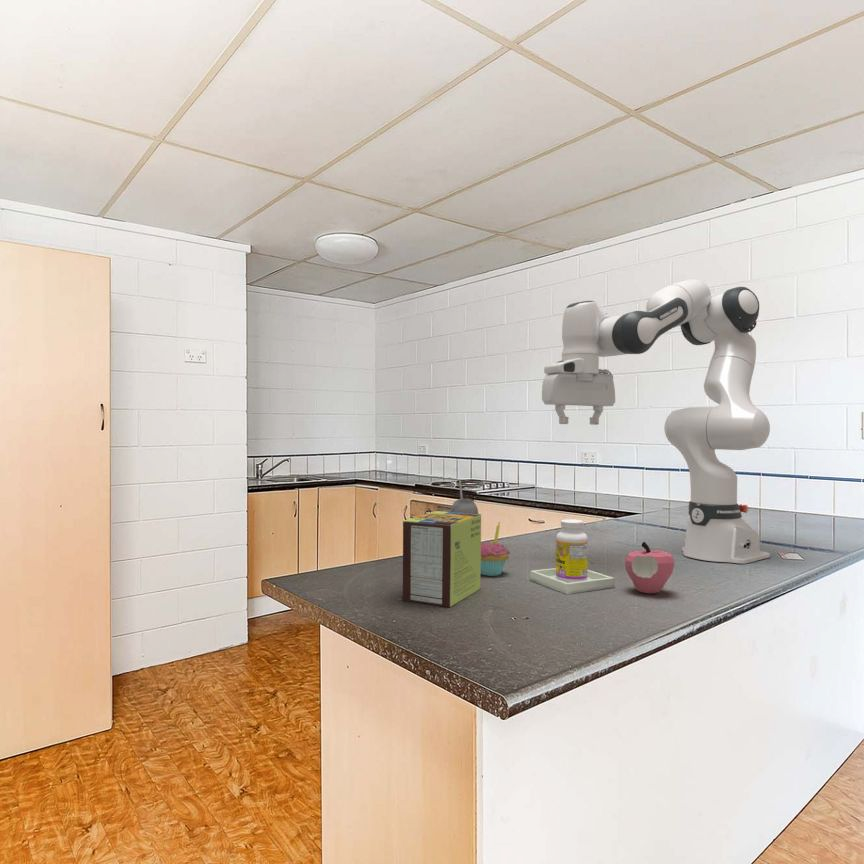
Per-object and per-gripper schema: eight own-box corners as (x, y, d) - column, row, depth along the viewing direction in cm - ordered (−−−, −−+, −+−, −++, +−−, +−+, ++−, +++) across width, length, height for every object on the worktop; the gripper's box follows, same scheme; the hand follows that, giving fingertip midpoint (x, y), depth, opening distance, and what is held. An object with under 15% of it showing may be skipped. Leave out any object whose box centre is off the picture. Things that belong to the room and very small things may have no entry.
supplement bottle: (552, 577, 139) (552, 518, 139) (581, 576, 139) (582, 518, 139) (560, 584, 132) (561, 523, 132) (591, 584, 132) (592, 523, 132)
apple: (618, 592, 129) (619, 543, 128) (632, 584, 136) (632, 537, 136) (667, 600, 123) (668, 549, 123) (678, 591, 130) (679, 542, 130)
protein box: (481, 589, 131) (482, 513, 130) (450, 608, 117) (451, 524, 117) (435, 582, 135) (436, 510, 135) (400, 600, 121) (401, 519, 121)
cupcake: (514, 571, 146) (514, 519, 146) (502, 579, 138) (502, 525, 138) (479, 567, 150) (479, 517, 149) (465, 575, 142) (466, 522, 142)
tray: (575, 574, 144) (575, 565, 144) (614, 587, 133) (614, 578, 133) (529, 580, 138) (529, 570, 138) (566, 594, 127) (566, 584, 127)
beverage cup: (476, 564, 153) (477, 482, 152) (446, 563, 154) (447, 481, 154) (480, 558, 160) (481, 479, 159) (451, 557, 161) (452, 478, 161)
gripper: (603, 370, 162) (603, 424, 162) (538, 366, 153) (537, 423, 153) (621, 368, 156) (620, 424, 157) (554, 364, 147) (553, 424, 147)
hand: (579, 424), depth 155 cm, fingers open, 8 cm apart
